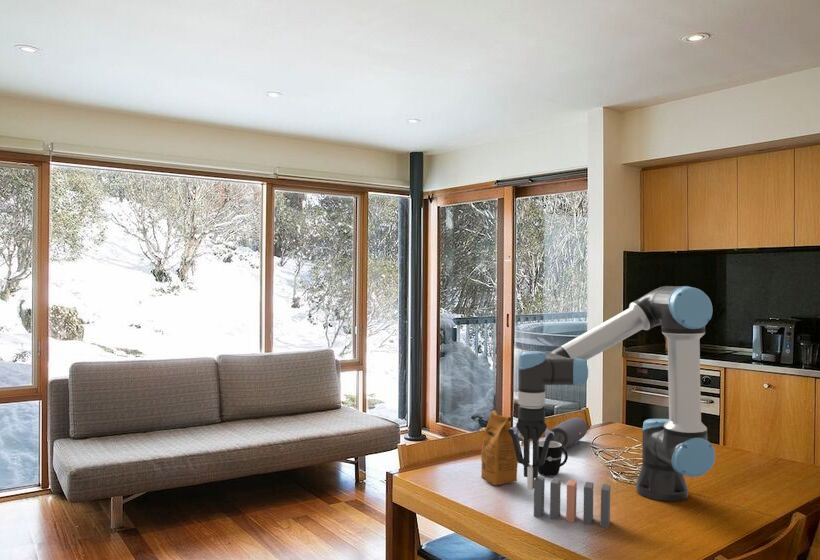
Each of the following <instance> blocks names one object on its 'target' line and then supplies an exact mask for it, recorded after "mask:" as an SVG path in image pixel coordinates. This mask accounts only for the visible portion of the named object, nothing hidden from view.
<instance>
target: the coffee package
mask: <svg viewBox="0 0 820 560" xmlns="http://www.w3.org/2000/svg"><path fill="white" fill-rule="evenodd" d="M512 421H513V419H512V417H510V416H505V415H504V416H503V415H498V413H497V412H496V410H492V411H491V413H490V416H489V419H488V422H487V425H486V427H485V430H484V433H483V439H482V445H481V446H482V447H481V454H480V456H481V460H480V461H481V478H484V479H485V481H486V482H487V483H489V484H492V485H493V486H500V485H503V484H511V483H512V484H513V483H514V482H517V481H518V475H517V474H518V465H519V463H518V462H517V458H516V453H515V449H514V444H513V440H512V437H511V435H510V433H509V429H510V428H512V426H511V423H510V422H512Z"/></svg>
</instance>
